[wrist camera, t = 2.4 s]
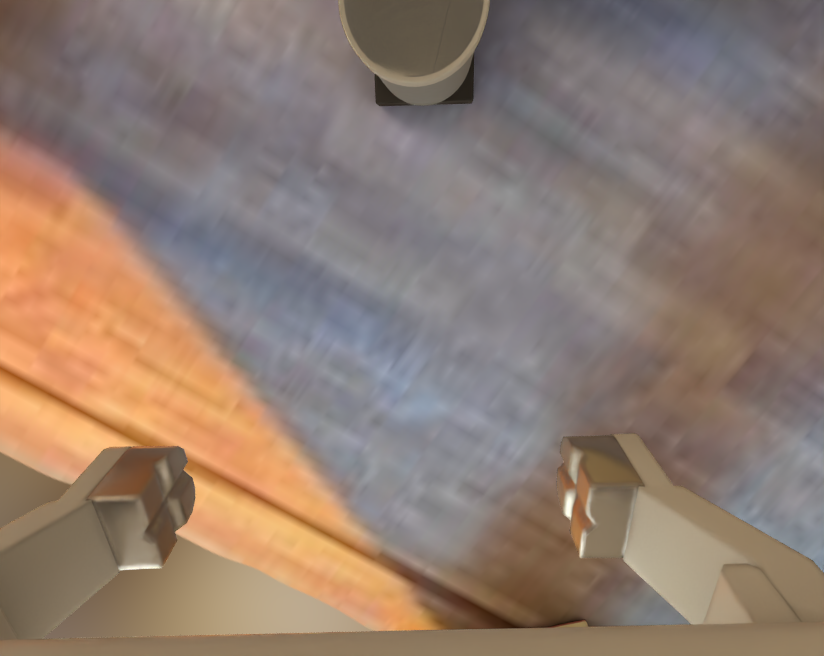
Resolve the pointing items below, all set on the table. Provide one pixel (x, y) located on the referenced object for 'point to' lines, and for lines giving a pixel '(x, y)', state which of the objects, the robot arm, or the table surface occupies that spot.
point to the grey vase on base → (417, 47)
